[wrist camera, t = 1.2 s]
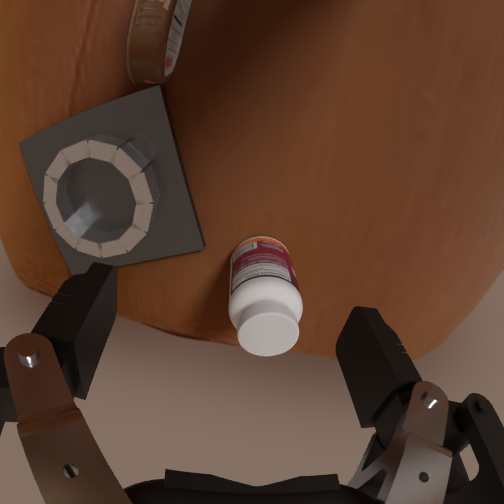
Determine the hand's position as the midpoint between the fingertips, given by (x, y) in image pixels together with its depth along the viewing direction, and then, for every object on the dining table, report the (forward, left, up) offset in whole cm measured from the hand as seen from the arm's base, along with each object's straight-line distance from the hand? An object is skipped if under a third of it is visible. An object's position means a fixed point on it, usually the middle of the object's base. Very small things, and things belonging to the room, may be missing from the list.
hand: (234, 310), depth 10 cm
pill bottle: (0, +11, -21) cm, 23 cm away
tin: (+2, -15, -21) cm, 26 cm away
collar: (+13, 0, -20) cm, 24 cm away
